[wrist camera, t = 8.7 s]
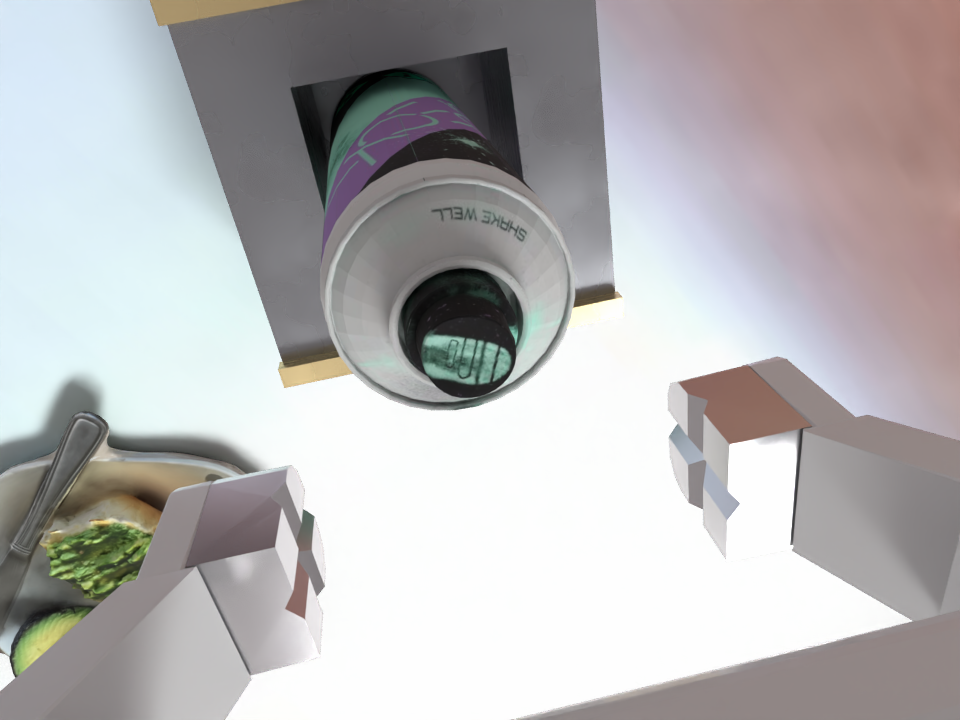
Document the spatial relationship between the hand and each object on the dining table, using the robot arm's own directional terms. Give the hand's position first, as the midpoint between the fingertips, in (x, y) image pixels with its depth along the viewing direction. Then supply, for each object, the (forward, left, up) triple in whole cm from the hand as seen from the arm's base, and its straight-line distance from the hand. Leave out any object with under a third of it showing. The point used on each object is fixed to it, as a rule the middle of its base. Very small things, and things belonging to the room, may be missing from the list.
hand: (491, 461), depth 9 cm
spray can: (0, 0, -23) cm, 23 cm away
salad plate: (+20, +21, -25) cm, 38 cm away
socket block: (0, 0, -25) cm, 25 cm away
